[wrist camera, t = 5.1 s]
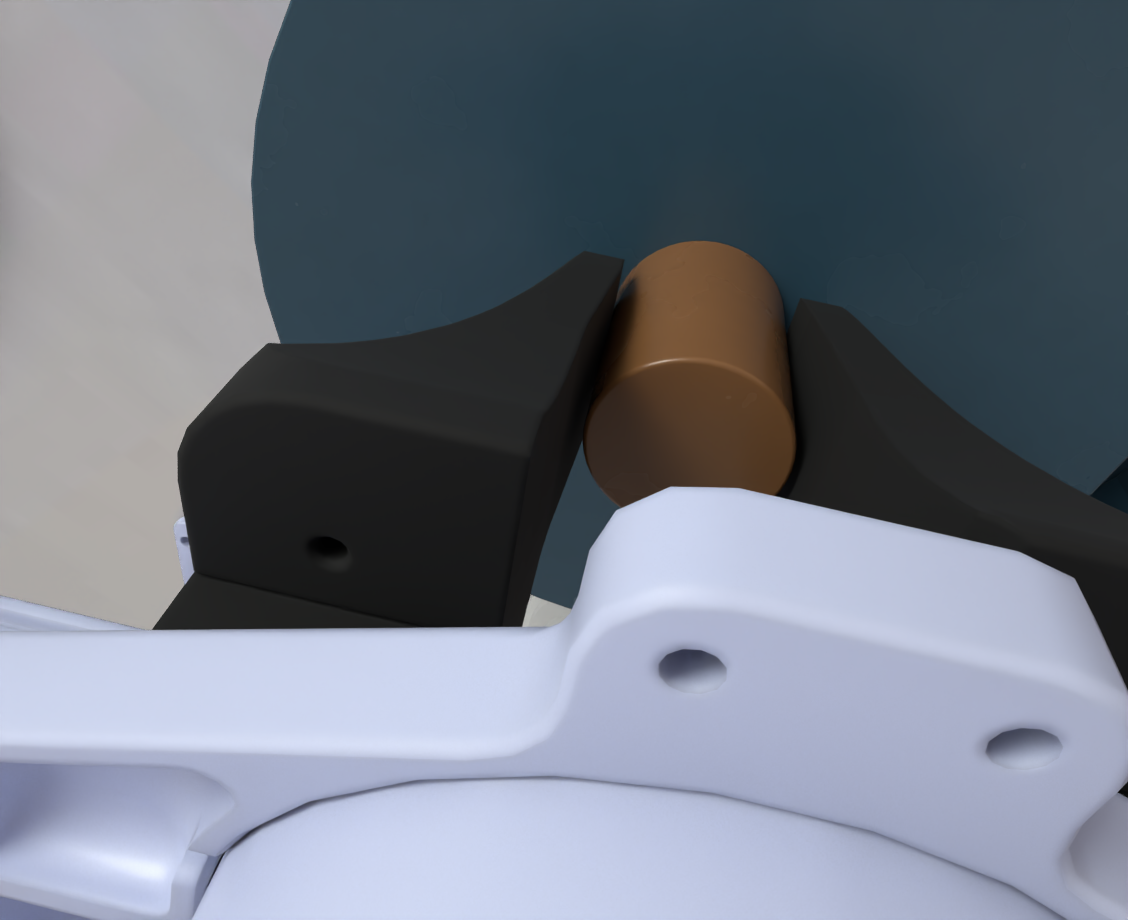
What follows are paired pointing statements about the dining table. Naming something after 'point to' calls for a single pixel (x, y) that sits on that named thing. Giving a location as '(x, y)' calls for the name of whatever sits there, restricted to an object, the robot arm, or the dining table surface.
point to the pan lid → (719, 210)
